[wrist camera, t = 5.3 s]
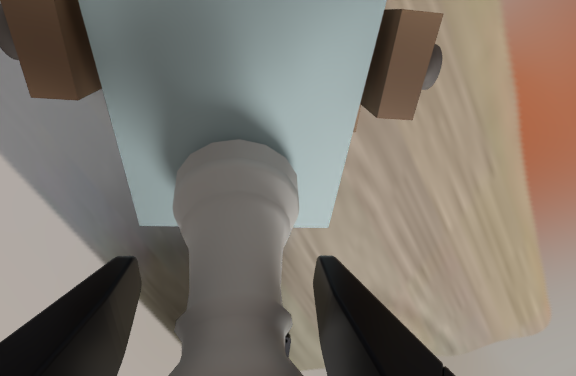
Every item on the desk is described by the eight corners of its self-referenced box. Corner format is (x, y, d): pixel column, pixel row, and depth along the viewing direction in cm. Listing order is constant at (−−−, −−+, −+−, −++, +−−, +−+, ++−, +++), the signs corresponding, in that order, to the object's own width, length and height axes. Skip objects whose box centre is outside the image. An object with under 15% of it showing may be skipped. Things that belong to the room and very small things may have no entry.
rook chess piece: (162, 205, 12) (77, 492, 6) (200, 110, 10) (126, 428, 4) (264, 234, 14) (281, 478, 8) (319, 159, 11) (403, 429, 5)
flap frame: (353, 126, 17) (408, 187, 11) (119, 113, 16) (35, 177, 10) (388, -52, 13) (502, -105, 7) (81, -93, 12) (-100, -205, 6)
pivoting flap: (320, 198, 15) (328, 227, 14) (152, 195, 14) (139, 226, 13) (426, -289, 7) (479, -359, 5) (24, -388, 6) (-63, -514, 4)
